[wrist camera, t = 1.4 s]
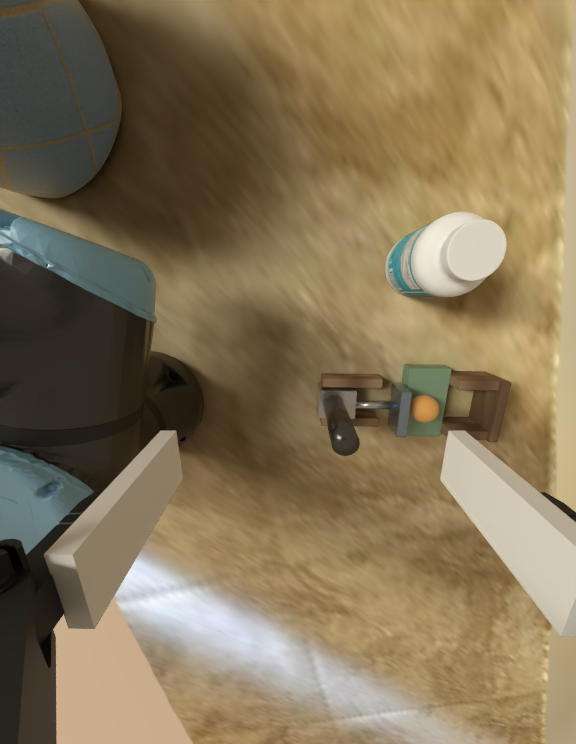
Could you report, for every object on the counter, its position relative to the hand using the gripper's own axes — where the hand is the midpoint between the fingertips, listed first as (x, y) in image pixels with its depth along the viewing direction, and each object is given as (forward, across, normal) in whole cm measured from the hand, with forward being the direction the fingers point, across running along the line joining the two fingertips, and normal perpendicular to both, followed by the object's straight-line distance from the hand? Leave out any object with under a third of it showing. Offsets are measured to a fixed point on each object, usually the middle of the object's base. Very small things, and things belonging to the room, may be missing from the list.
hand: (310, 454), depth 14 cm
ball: (+22, +16, -8) cm, 29 cm away
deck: (+26, +17, -8) cm, 32 cm away
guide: (+26, +7, -7) cm, 28 cm away
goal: (+26, +23, -8) cm, 36 cm away
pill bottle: (+26, +14, +10) cm, 32 cm away
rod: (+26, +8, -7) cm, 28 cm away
